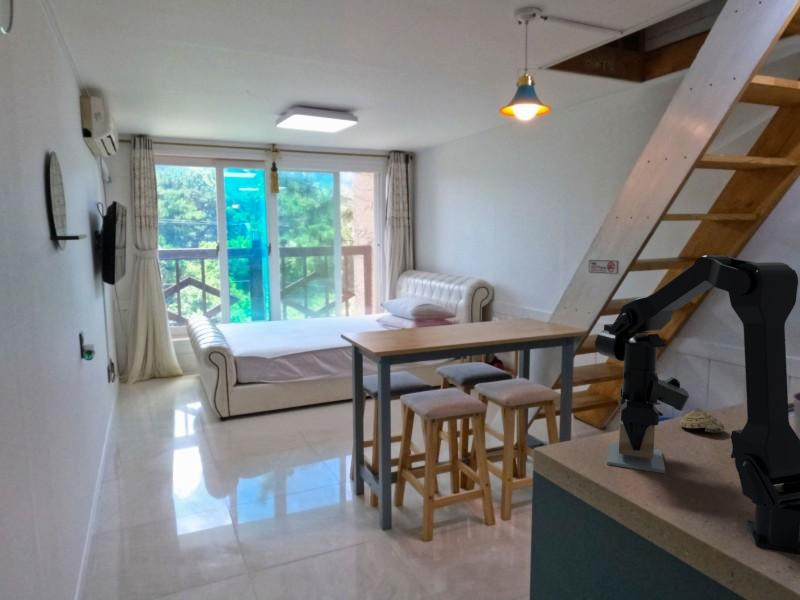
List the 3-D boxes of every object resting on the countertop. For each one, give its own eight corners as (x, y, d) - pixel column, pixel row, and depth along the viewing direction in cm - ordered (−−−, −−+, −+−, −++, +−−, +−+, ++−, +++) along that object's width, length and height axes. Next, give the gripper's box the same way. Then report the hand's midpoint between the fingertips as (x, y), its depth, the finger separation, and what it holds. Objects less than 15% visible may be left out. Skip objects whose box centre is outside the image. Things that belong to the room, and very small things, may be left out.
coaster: (665, 473, 96) (665, 470, 96) (607, 464, 100) (607, 461, 100) (661, 452, 105) (661, 449, 105) (607, 445, 109) (608, 442, 109)
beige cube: (653, 458, 99) (654, 427, 98) (618, 453, 101) (620, 423, 100) (651, 446, 104) (652, 417, 103) (618, 442, 106) (620, 414, 106)
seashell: (721, 429, 111) (685, 406, 116) (708, 449, 113) (673, 426, 119) (733, 421, 117) (698, 400, 122) (720, 440, 119) (686, 419, 124)
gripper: (693, 383, 89) (687, 470, 91) (681, 359, 106) (676, 433, 108) (622, 376, 93) (618, 460, 95) (622, 355, 110) (618, 426, 112)
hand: (635, 444), depth 102 cm, fingers closed on beige cube, 6 cm apart
